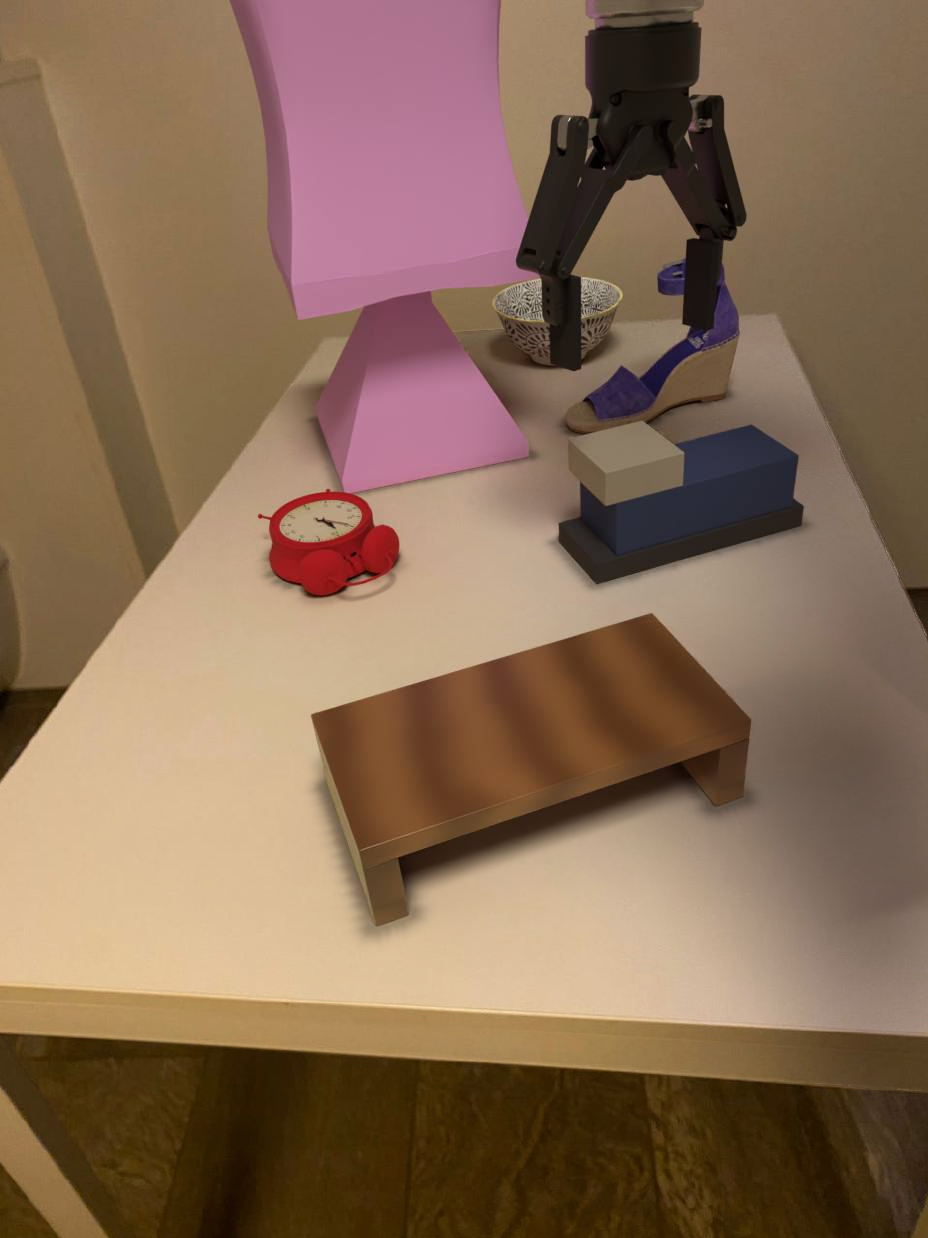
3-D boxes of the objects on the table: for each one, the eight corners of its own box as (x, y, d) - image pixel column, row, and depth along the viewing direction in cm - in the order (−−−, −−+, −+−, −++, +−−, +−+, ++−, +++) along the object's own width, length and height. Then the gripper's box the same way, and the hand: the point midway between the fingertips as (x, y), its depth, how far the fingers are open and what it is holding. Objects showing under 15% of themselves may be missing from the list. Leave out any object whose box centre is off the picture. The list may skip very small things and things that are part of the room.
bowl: (628, 375, 115) (629, 313, 110) (496, 385, 116) (491, 323, 112) (615, 329, 128) (615, 271, 123) (496, 338, 129) (492, 281, 124)
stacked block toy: (752, 488, 91) (762, 388, 85) (801, 525, 85) (816, 420, 79) (558, 541, 86) (555, 439, 80) (596, 584, 80) (595, 477, 74)
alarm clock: (338, 476, 92) (413, 501, 80) (355, 536, 95) (430, 569, 83) (238, 513, 88) (301, 545, 76) (259, 575, 91) (323, 616, 78)
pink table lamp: (486, 382, 117) (451, -71, 91) (546, 459, 99) (524, -77, 73) (305, 417, 113) (212, -45, 87) (333, 503, 96) (228, -44, 69)
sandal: (555, 409, 109) (550, 275, 100) (721, 382, 111) (731, 248, 102) (574, 439, 102) (571, 298, 94) (751, 410, 104) (765, 270, 95)
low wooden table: (649, 685, 69) (652, 612, 66) (743, 797, 60) (752, 719, 56) (328, 786, 64) (310, 713, 60) (375, 927, 55) (358, 851, 51)
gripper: (733, 10, 71) (712, 303, 82) (452, 37, 60) (473, 372, 71) (817, 5, 65) (783, 320, 77) (525, 34, 54) (536, 397, 66)
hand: (634, 346), depth 74 cm, fingers open, 13 cm apart
